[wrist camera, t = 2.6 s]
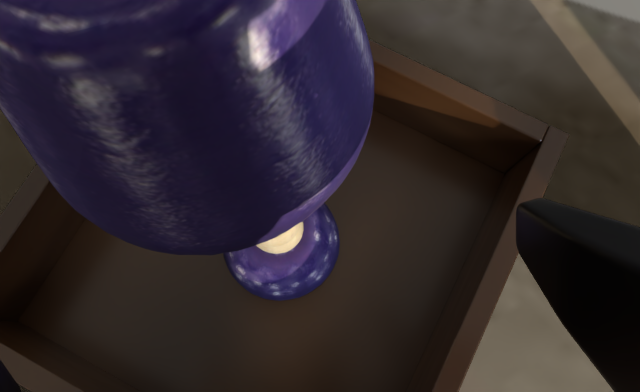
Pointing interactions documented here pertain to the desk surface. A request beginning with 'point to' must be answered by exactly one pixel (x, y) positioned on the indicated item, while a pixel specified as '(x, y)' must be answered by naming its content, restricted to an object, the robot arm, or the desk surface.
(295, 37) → the toy lamp
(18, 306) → the wooden tray
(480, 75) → the desk surface
